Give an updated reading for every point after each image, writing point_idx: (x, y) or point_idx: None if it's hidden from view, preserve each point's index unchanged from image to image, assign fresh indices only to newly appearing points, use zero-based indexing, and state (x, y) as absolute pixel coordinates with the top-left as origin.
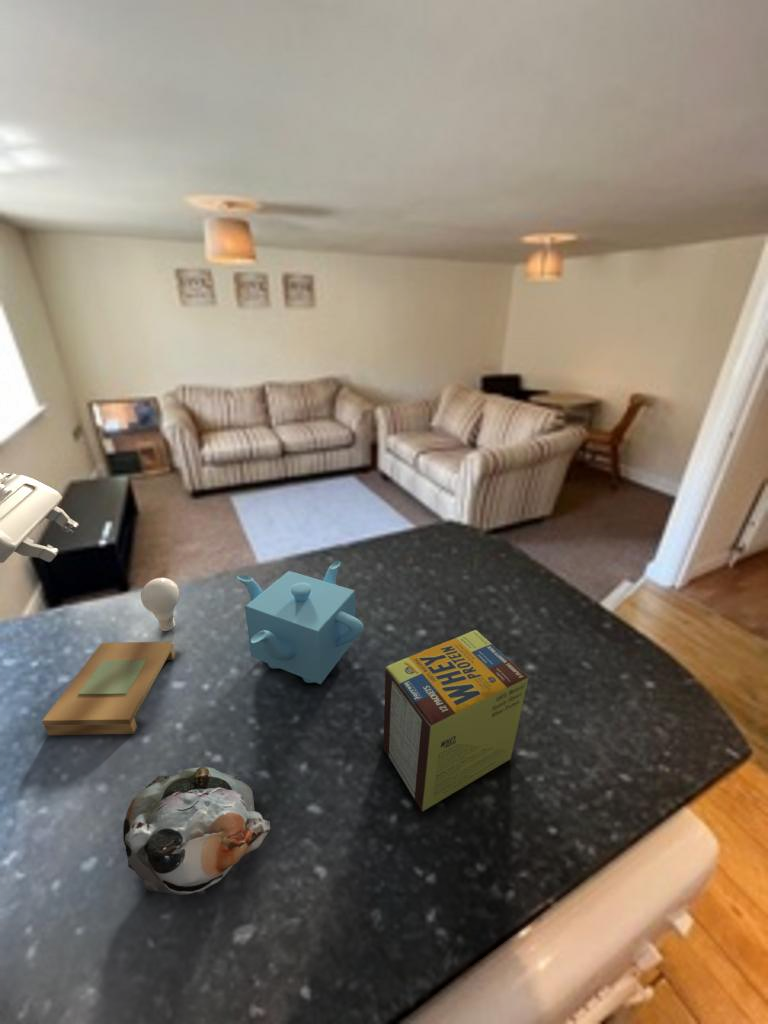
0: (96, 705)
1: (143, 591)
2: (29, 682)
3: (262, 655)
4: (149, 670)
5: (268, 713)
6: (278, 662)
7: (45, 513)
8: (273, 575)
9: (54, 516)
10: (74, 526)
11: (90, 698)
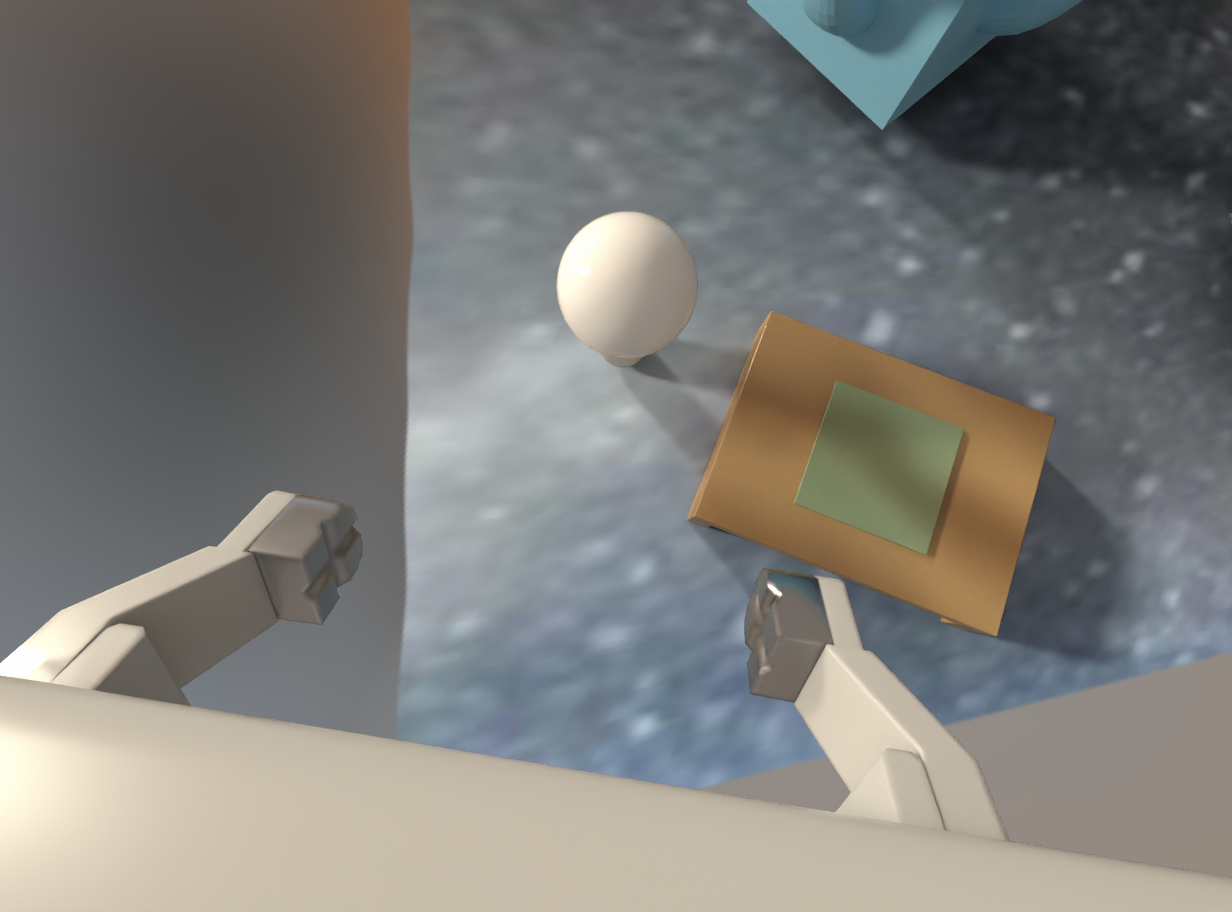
0: (980, 502)
1: (644, 321)
2: (730, 723)
3: (921, 89)
4: (882, 372)
5: (1041, 145)
6: (959, 59)
7: (324, 741)
8: (454, 25)
9: (167, 684)
10: (339, 510)
11: (947, 521)
